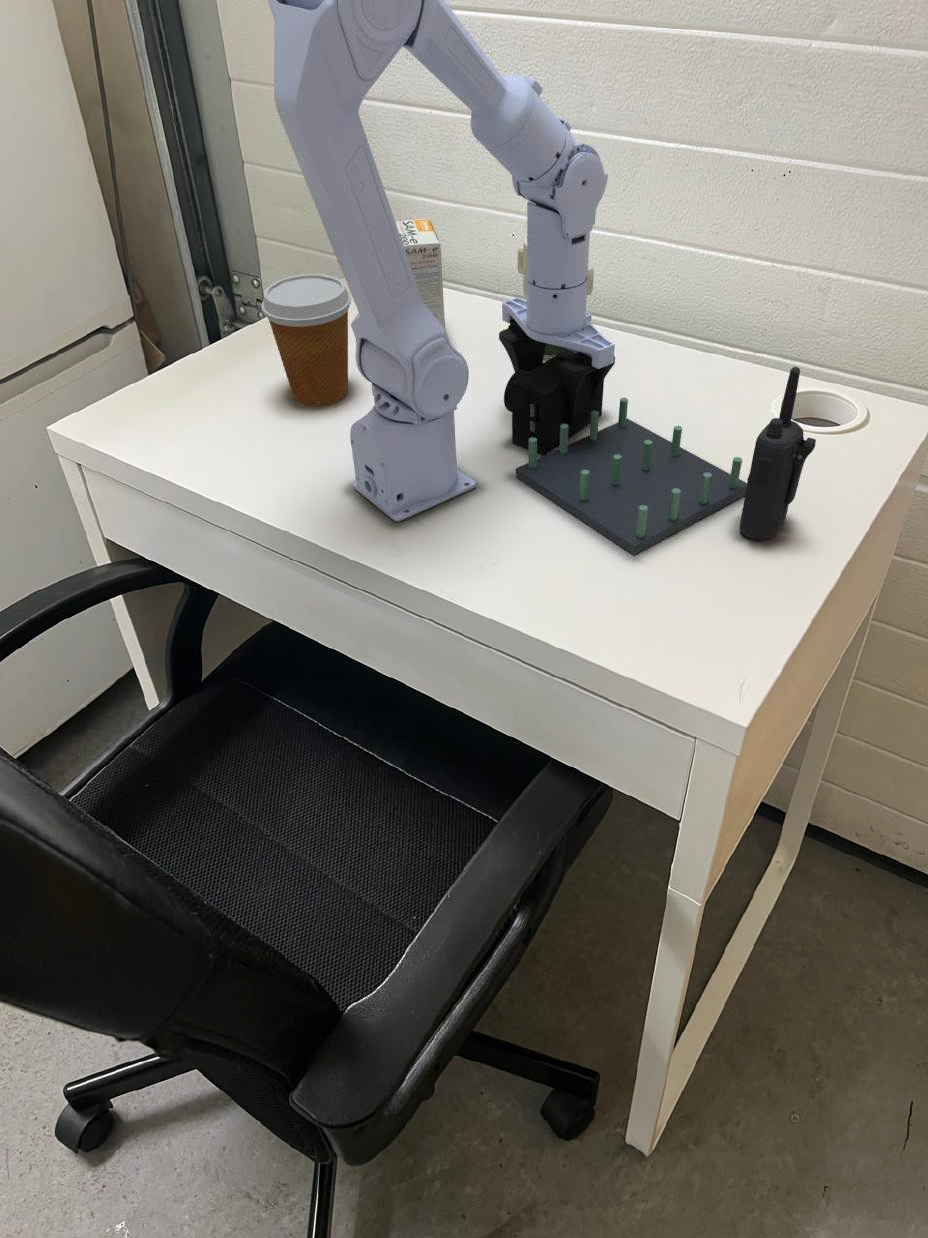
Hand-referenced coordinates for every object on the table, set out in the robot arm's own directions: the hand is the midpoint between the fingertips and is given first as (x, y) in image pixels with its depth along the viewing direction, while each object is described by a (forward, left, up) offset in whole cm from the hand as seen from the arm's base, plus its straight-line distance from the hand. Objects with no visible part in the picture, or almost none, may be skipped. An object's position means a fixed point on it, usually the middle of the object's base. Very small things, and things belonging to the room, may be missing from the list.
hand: (553, 407), depth 97 cm
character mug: (+12, +14, -3) cm, 19 cm away
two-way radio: (+3, -26, -3) cm, 26 cm away
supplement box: (+2, +27, -3) cm, 27 cm away
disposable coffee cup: (-15, +23, -3) cm, 28 cm away
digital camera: (0, 0, -3) cm, 3 cm away
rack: (-2, -13, -2) cm, 13 cm away
